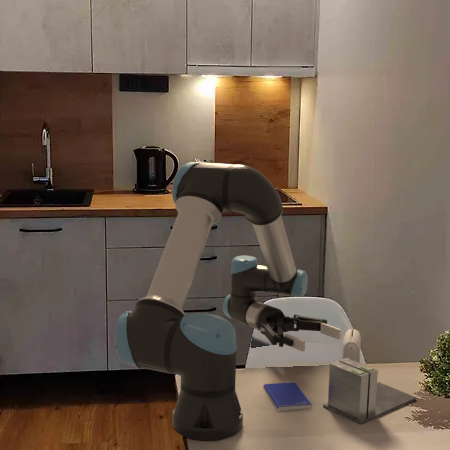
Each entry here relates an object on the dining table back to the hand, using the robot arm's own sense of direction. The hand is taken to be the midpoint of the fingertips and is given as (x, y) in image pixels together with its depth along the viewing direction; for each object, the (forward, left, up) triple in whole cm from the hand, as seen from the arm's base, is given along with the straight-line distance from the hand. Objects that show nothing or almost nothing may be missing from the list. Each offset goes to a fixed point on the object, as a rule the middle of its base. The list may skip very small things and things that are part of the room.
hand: (322, 340), depth 185 cm
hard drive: (-20, -8, -8) cm, 23 cm away
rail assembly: (-7, -22, -7) cm, 24 cm away
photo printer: (0, -10, -7) cm, 12 cm away
